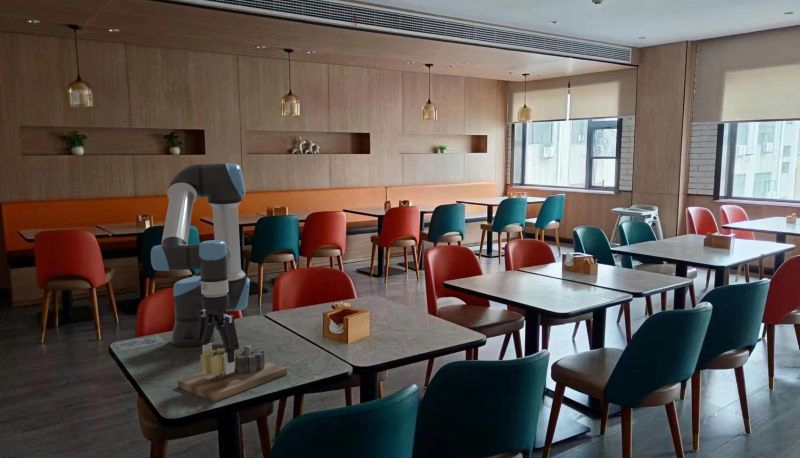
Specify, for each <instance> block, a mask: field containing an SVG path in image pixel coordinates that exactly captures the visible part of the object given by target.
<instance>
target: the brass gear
mask: <svg viewBox="0 0 800 458" xmlns="http://www.w3.org/2000/svg"><path fill="white" fill-rule="evenodd" d="M224 351H226V350H225V347H222V348H221V347H218V348H217V349H212V350H208V351H206V353H203V352H202V353H201V354H200V371H201V372H203V374H204V375H209V374H211V375H212V374H213V376H219V375H220V374H223V373H224V374H225V363H224ZM234 359H235V360H234V370H235V369H236V354H235V352H234ZM201 372H200V373H201Z"/></svg>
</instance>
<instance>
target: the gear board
mask: <svg viewBox="0 0 800 458" xmlns="http://www.w3.org/2000/svg"><path fill="white" fill-rule="evenodd" d="M234 352H235V354H236V369H235V370H234V372H232V373H229V374H224V373H223V374H220V375H219V376H213V374H212V375H211V374H209V375H204V374H203V372H199V373H195V374H192V375H189V376H187V377H183V378H180V379H178V380H177V388H180V389H182V390H185V391H187V392H188V393H192V394H195V395H196V396H200V397H202V398H205V399H207V400H210V401H212V402H213V403H215V402H218V401H222V400H223V399H227V398H228V397H231V396H233V395H236V394H238V393H242V392H244V391H247V390H249V389H251V388H254V387H256V386H260V385H262V384H265V383H268V382H270V381H272V380H275V379H277V378H280V377H283V376H285V375H288V371H287V369H288V367H285V366H282V365H279V364H275V363H272V362H268V361H266V360H265V350H263V349H259V348H258V347H252V345H250V344H249V345H248V344H247V345H245V346H244V345H243V348H240V350H235V351H234Z"/></svg>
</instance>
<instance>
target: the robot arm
mask: <svg viewBox="0 0 800 458" xmlns="http://www.w3.org/2000/svg"><path fill="white" fill-rule="evenodd" d="M242 171H243V170H242V167H241V165H239V164H237V163H227V162H225V163H195V164H191V165H187V166H186V167H184V168H182V169H181V170H179V171H178V172H177V173H176V174H175V175H174V176H173V177H172V179H171V181H170V182H169V184H168V187H167V192H166V193H167V198H168V200H169V201H168V205H167V211H166V216H165V221H164V222H165V223H164V226H163V227H164V228H163V232H162V238H161V243H160V244H159V245H154V246H152V248H151V250H150V262H151V266H152V269H153V270H154V271H164V272H165V271H167V272H169V271H182V270H184V271H185V270H200V271H199V272H200V275H196V276H190V277H186V278H183V279H180V280H178V281H176V282H175V283H174V285H173V295H172V296H173V304H174V305H173V306H174V320H175V322H174V327H173V330H172V334H171V338H170V339H171V341H170V342H171V344H172V345H173V346H175V347H178V348H179V347H180V348H181V347H183V348H190V347H198V346H201V349H202V350H201V351H202V353H206V351H208V350H213V343H212V342H213V341H215V340H216V335H215V334H216V333H215V328H216V330H217V331H218V332H219V336H220V339H221V341H222V344H223V346H224V347H223V348H224V349H225V350H226V351H224V363H225V374H229V373H232V372H234V360H235V359H234V351H238V350H239V349H240V345H239V341H238V340H239V339H238V334H237V330H236V326H235V315H233V314H229V315H228V312H232V311H233V312H236V311H242V310H246V308H247V307H248V304H249V293H250V283H251V280H250V277H249V278H248V277H246V276H247V275H246V273H245V271H243V270H242V265H241V246H240V244H241V243H240V226H239V224H240V223H239V209H238V208H239V205H240V204H241V203H242V202H243V200H242V198H244V197H246V195H247V194H246V185H245V179H244V175H243V172H242ZM198 198H207V203H208V204H209V205H210V206H211V207H212V217H213V236H214V239H212V240H211V239H210V240H204V241H201V242H199V243H193V244H191V243H190V244H189V237H190V231H191V230H190V229H191V223H192V215H193V214H192V213H193V205H194V203H195V202H196V201H197V199H198Z"/></svg>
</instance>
